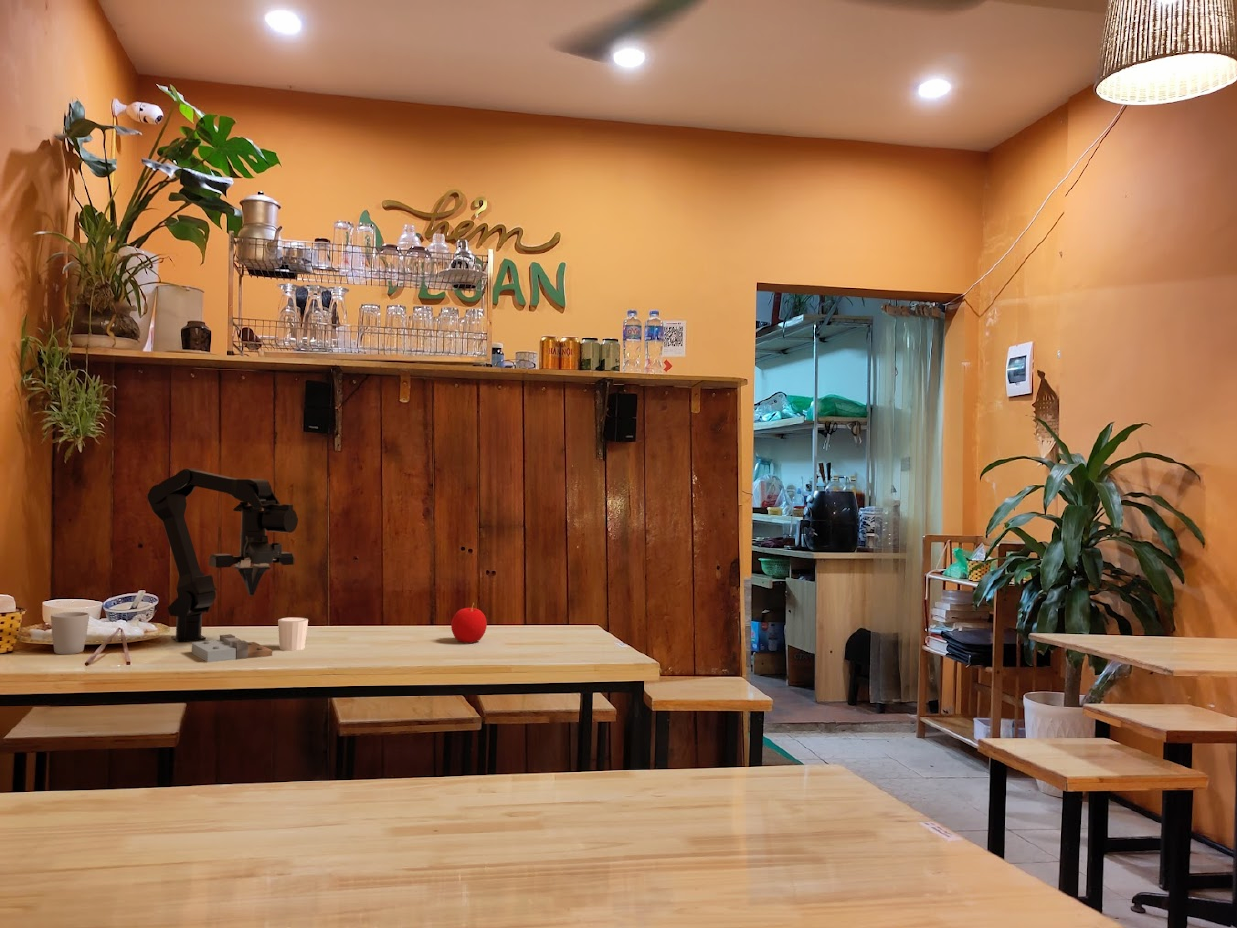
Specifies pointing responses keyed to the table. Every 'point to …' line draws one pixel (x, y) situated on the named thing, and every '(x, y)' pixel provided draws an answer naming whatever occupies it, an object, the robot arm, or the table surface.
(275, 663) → the table surface
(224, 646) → the leaf
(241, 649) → the leaf
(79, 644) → the cup
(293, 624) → the pale pink tumbler
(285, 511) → the robot arm
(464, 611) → the fruit
